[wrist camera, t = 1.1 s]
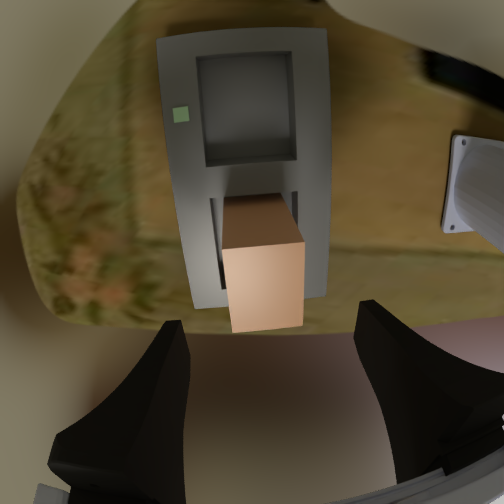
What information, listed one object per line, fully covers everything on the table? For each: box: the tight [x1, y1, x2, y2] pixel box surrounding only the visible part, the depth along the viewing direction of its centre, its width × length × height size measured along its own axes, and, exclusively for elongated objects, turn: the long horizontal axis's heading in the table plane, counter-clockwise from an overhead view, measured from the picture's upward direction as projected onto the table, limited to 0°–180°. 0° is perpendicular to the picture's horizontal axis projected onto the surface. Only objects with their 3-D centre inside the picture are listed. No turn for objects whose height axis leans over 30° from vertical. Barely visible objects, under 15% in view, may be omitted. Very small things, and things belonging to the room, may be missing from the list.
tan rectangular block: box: [222, 193, 305, 333], centre depth 18 cm, size 4×5×7 cm
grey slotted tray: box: [156, 27, 332, 309], centre depth 18 cm, size 9×17×3 cm, turn 4°
